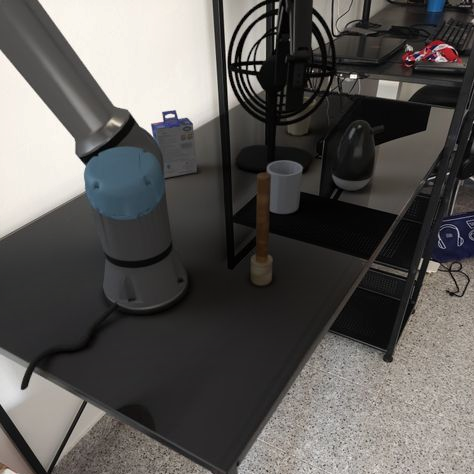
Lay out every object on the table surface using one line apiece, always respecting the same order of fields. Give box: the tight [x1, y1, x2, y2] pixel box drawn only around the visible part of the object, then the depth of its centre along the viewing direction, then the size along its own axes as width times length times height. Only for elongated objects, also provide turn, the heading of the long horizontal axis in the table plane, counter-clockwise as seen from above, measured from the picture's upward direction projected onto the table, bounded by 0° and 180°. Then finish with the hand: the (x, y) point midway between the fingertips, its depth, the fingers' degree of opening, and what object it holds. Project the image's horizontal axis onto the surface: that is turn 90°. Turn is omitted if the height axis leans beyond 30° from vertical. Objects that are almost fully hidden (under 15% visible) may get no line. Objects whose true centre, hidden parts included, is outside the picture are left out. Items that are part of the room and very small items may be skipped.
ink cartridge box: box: [150, 109, 198, 179], centre depth 110 cm, size 10×6×14 cm, turn 112°
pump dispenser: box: [330, 119, 385, 192], centre depth 102 cm, size 10×10×15 cm
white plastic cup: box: [266, 160, 303, 215], centre depth 98 cm, size 8×8×9 cm
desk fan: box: [226, 0, 338, 173], centre depth 106 cm, size 27×18×35 cm, turn 75°
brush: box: [250, 172, 274, 286], centre depth 74 cm, size 4×4×20 cm
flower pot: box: [283, 96, 317, 136], centre depth 130 cm, size 9×9×9 cm
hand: (287, 96), depth 73 cm, fingers open, 13 cm apart
